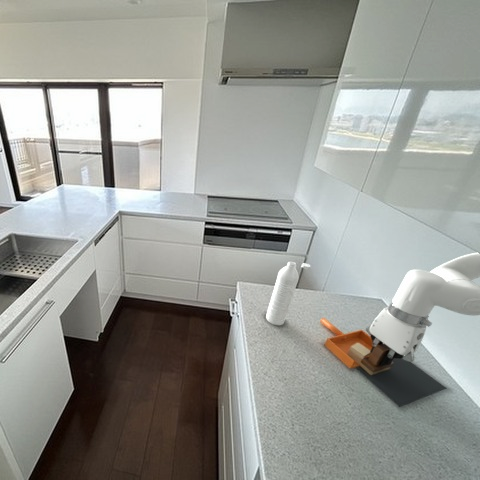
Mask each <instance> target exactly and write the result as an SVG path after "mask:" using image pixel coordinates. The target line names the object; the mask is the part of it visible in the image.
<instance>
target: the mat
mask: <svg viewBox="0 0 480 480" xmlns="http://www.w3.org/2000/svg"><path fill="white" fill-rule="evenodd" d="M392 362H394V364H393V366H391V367H390V369H388V370H385V371H382V372H379V373H376V374H373V375H370V374H369V373H368V372H367V371H365V370H364V369H363V368H362V367H361V366H357V367H354V368H355V369H356V370H357V371H358V372H359V373H360V374H361V375H363V376H364V377H365V378H366V379H367V380H368V381H369V382H371V383H372V384H373V385H374V386H375V387H376V388H377V389H378V390H380V391H381V392H382V393H383V394H384V395H385V396H386V397H387V398H389V399H390V400H391V401H392V402H393V403H394V404H396V405H397V406H398V407H399V408H401V407H403V406H406V405H408V404H412V403H413V402H416V401H418V400H421V399H423V398H426V397H428V396H431V395H434V394H437V393H439V392H441V391H444V390H447V387H446V386H444V385H443V384H442V383H440V382H439V381H438V380H436V379H435V378H433V377H432V376H431V375H429V374H428V373H427V372H425V371H424V370H423V369H421V368H420V367H418V366H417V365H416V364H414V363H413V362H408V361H406V360H403V359H398V358H394V359H393V361H392Z"/></svg>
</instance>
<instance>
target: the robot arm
mask: <svg viewBox="0 0 480 480" xmlns="http://www.w3.org/2000/svg"><path fill="white" fill-rule="evenodd" d="M478 278H480V254H479V253H478V252H473V253H469V254H464V255H461V256H458V257H456V258H454V259H452V260H448V261H446V262H444V263H442V264H440V265H438V266H436V267H435V268H433V269H432V270H430V271H428V270H425V269H411V270H409V271H408V272H407V273H406V274H405V276H404V278H403V279H402V281H401V283H400V285H399V286H398V289H397V290H396V292H395V294H394V296H393V297H392V300H391V301H390V303H389V305H388V306H385V307H384V308H383V309H382V310H381V311H380V312H379V313H378V314H377V316H376V317H375V318H374V320H373V321H372V323H371V325H369V326H368V327H366V328H365V332H366V333H367V334H368V335H369V336H370V337H371V339H372V342H373V343H372V345H373V347H372V349H371V351H370V352H371V353H372V352H373V350H374V348H375V346H377V345H380V344H386V345H387V346H389V347H390V348H391V349H390V351H389V353H388V354H387V355H384V357H383V358H382V360H381V362H380V363H379V364H380V365H381V366H384V365H390V364H391V363H392V361H393V359H394V358H398V359H403V360H406V361H408V362H411V363H413V362H415V353H416V352H417V351H418V350H419V347H420V345H421V344H422V341H423V340H424V336H425V334H426V330H427V327H429V328H430V327H431V326H432V325H433V322H432V321H430V320H429V318H430V313H431V312H432V311H433V309H434V308H435V306H436V307H440V308H442V309H446V310H448V311H451V312H454V313H457V314H460V315H465V316H473V317H474V316H475V317H476V316H480V286H479V285H478V284H477V283H476V282H475V281H473V280H476V279H478ZM370 355H371V354H370Z"/></svg>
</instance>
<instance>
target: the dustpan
mask: <svg viewBox="0 0 480 480" xmlns="http://www.w3.org/2000/svg"><path fill="white" fill-rule="evenodd" d="M320 323H321V324H322V325H323V326H324V327H326V328H327V329H328V330H329V331H331V332H332V333H333V334H334V335H335V336H331V337H327V338H326V340H325V343H324V346H325V347H326V349H328V350H329V351H330V352H331V353H332V354H333V355H334V356H335V357H337V358H338V359H339V360H340V361H341V362H342V363H343V364H345V366H346V367H347V368H349V369H354V368H355V367H357V366H360V365H359V364H358V363H356V362H355V361H354V360H353V359H351V358H350V357H349V356H348V355H347V354H348V352H349V350H350V348H351V346H353V345H355V344H356V343H360V344H361V345H363V346H364V347H366V348H367V349H369V350H370V351H371V349H372V347H373V345H372V343H373V342H372V339H371V337H370V335H369V334H368V332H366V331H364V330H363V329H358V330H354V331H351V332H347V333H344V332H342V331H341V330H340V329H338V328H337V327H336V326H335V325H334V324H332V323H331V322H330V321H328V320H327V319H326V318H325V317H323V318H320ZM369 357H370V356H369Z"/></svg>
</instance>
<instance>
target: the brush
mask: <svg viewBox="0 0 480 480" xmlns="http://www.w3.org/2000/svg"><path fill="white" fill-rule="evenodd" d="M390 349H391V348H390V347H389V346H387V345H386V344H384V343H383V344H380V345H377V346H375V348H374V350H373V352H372V353H371V355H370V357H367V358H364V359H362V360H361V364H360V366H361V367H362V368H363V369H364V370H365V371H367V372H368V373H369V374H370V375H373V374H376V373H379V372H382V371H385V370H388V369H390V367H391V366H393V364H394V362H392V363H391V364H390V365H384V366H381V365H380V364H379V363H380V362H381V360H382V358H383V357H384V355H387V354H388V353H389V351H390Z"/></svg>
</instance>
